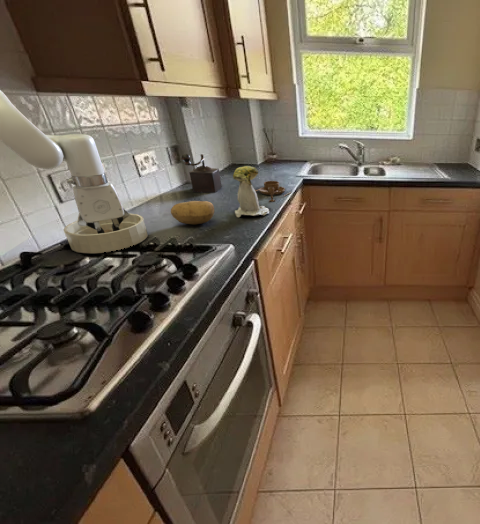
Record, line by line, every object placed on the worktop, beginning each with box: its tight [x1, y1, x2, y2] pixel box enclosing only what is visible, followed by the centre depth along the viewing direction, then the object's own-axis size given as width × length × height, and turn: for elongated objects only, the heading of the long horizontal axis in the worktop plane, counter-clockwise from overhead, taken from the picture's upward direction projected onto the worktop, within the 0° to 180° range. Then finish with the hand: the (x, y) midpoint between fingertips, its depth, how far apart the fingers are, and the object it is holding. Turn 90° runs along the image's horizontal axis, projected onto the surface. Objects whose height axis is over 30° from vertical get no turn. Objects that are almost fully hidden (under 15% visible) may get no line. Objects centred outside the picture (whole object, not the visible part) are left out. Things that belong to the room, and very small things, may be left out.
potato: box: [170, 200, 215, 226], centre depth 117 cm, size 10×14×8 cm
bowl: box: [63, 212, 149, 254], centre depth 102 cm, size 19×19×6 cm
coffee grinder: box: [180, 153, 223, 194], centre depth 153 cm, size 16×11×18 cm
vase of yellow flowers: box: [232, 165, 270, 218], centre depth 126 cm, size 12×13×18 cm
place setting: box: [255, 180, 293, 203], centre depth 154 cm, size 18×20×6 cm
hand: (111, 239), depth 103 cm, fingers closed on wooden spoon, 2 cm apart
